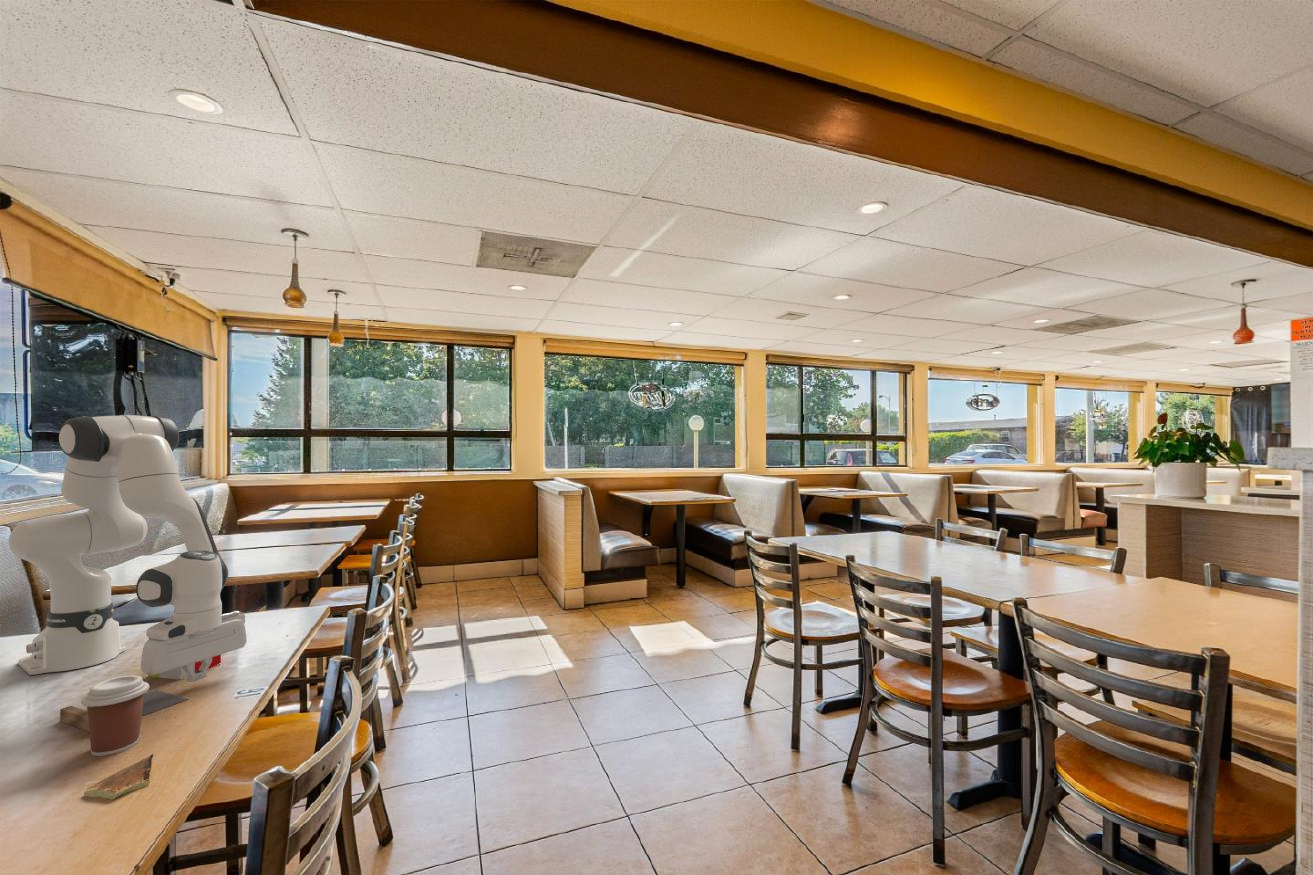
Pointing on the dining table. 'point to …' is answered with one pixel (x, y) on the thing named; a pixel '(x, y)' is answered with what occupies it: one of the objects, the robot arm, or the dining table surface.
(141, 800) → the dining table surface
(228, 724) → the dining table surface
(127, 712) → the coffee cup
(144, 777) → the shard
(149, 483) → the robot arm
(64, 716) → the brown long bar
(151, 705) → the mark
